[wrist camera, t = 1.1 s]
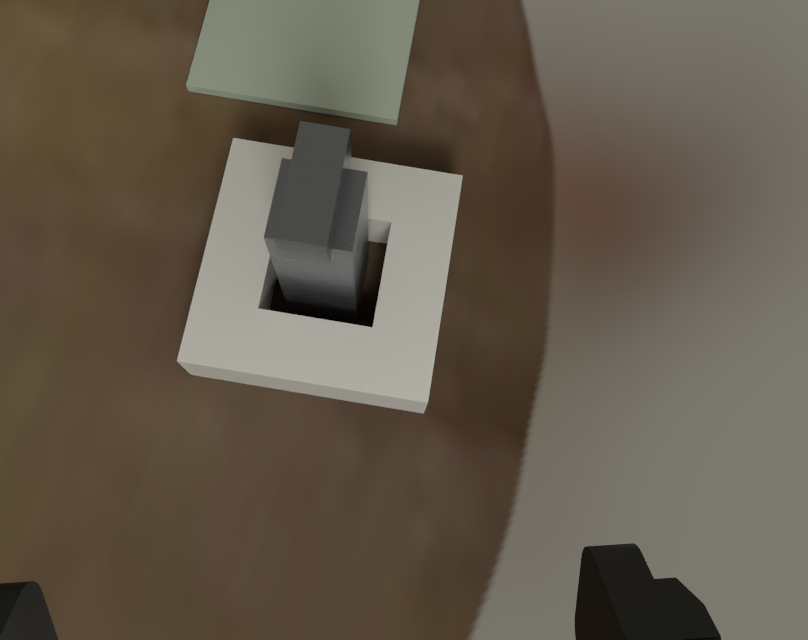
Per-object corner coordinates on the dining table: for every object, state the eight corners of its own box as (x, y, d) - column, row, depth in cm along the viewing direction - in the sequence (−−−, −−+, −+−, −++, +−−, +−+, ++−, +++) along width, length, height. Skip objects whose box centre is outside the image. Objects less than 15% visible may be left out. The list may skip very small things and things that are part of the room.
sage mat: (188, 91, 44) (185, 85, 43) (234, -78, 47) (233, -86, 47) (396, 125, 44) (397, 119, 43) (428, -46, 47) (428, -54, 47)
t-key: (286, 323, 40) (252, 234, 29) (304, 235, 42) (279, 117, 30) (354, 334, 40) (347, 249, 29) (370, 246, 42) (370, 132, 30)
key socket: (190, 374, 39) (176, 360, 37) (242, 165, 43) (233, 137, 40) (423, 413, 39) (427, 402, 37) (456, 200, 43) (462, 175, 40)
